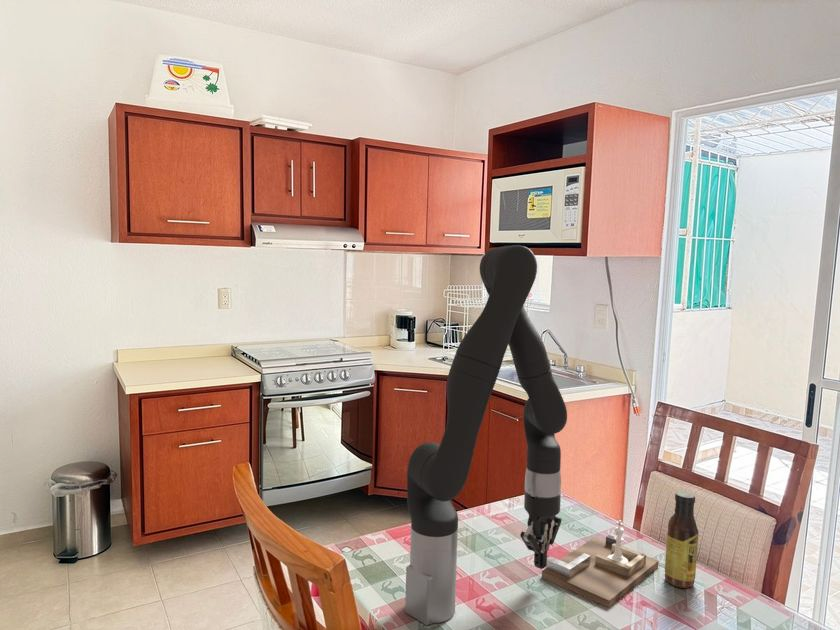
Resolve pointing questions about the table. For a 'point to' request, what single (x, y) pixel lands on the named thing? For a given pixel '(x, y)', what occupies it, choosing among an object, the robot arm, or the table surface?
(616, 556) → the chess piece
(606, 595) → the socket board
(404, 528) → the table surface
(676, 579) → the sauce bottle
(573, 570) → the keeper bolt
